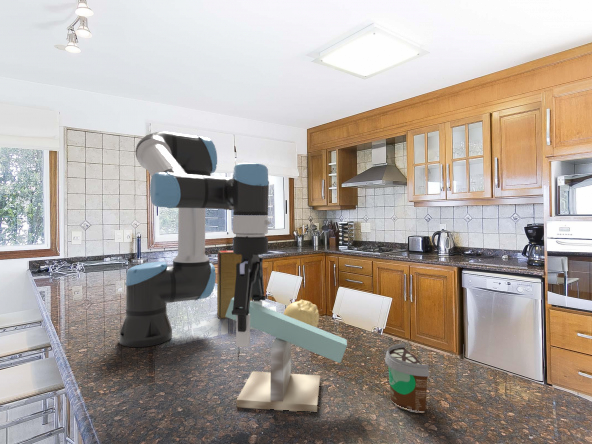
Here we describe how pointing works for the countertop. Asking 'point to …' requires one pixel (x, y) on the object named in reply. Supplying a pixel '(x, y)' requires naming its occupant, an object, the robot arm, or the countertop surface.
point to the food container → (407, 378)
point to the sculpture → (303, 312)
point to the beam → (294, 331)
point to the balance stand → (280, 385)
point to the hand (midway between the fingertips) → (250, 337)
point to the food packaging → (226, 280)
